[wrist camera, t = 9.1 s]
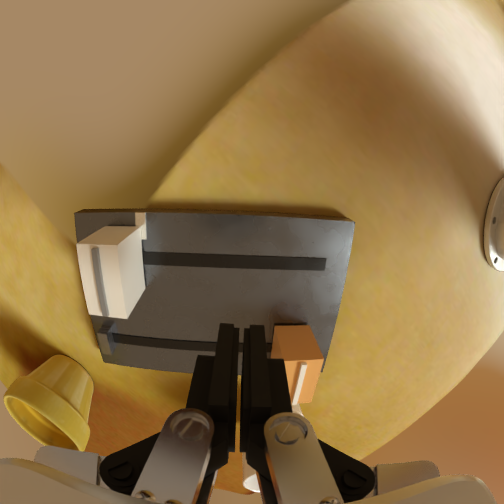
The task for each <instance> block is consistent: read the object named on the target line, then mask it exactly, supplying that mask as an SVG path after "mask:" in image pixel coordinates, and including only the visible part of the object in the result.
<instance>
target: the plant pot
mask: <svg viewBox="0 0 504 504" xmlns="http://www.w3.org/2000/svg"><path fill="white" fill-rule="evenodd" d="M93 389H94V385H93V381H92V379H91V377H90V375H89V374H88V372H87V371H86V370H85V369H84V368H83V367H82V366H81V365H80V364H79V363H77V362H76V361H74V360H73V359H71V358H69V357H67V356H64V355H54V356H52V357H51V358H49V359H48V360H47V361H46V362H44V363H43V364H42V365H40V366H39V367H38V368H37V369H35V370H34V371H33V372H31V373H30V374H29V375H27V376H21V377H18V378H17V379H16V380H15V381H14V382H13V383H12V385H11V386H10V387H9V388H8V390H7V391H6V393H5V395H4V398H3V399H4V404H5V406H6V408H7V410H8V412H9V413H10V414H11V416H12V417H13V418H14V420H15V421H16V422H17V423H18V424H19V425H20V426H21V427H22V428H23V429H24V430H25V431H26V432H27V433H28V434H30V435H31V436H32V437H33V438H35V439H36V440H37V441H39V442H40V443H42V444H43V445H45V446H55V447H60V448H65V449H71V450H76V451H83V452H84V450H85V448H86V445H87V442H88V439H89V436H90V429H89V426H88V424H87V422H88V416H89V410H90V404H91V399H92V394H93Z"/></svg>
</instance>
